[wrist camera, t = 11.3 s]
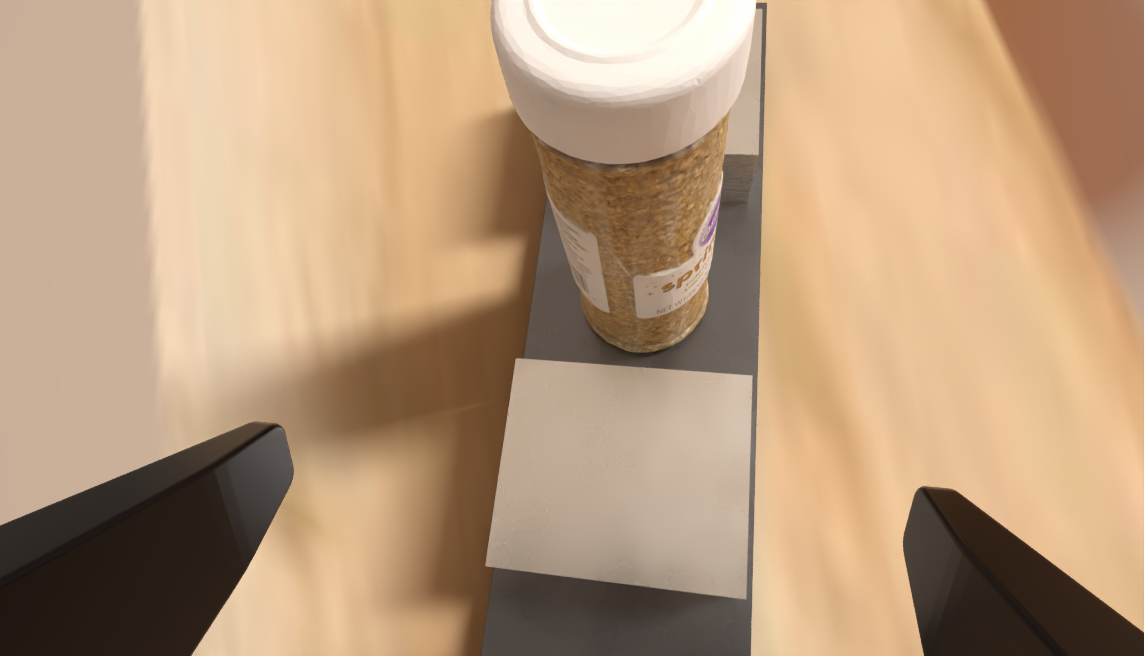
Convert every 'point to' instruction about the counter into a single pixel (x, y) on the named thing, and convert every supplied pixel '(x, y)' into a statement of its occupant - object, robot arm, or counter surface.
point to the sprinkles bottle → (630, 145)
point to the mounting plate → (700, 351)
